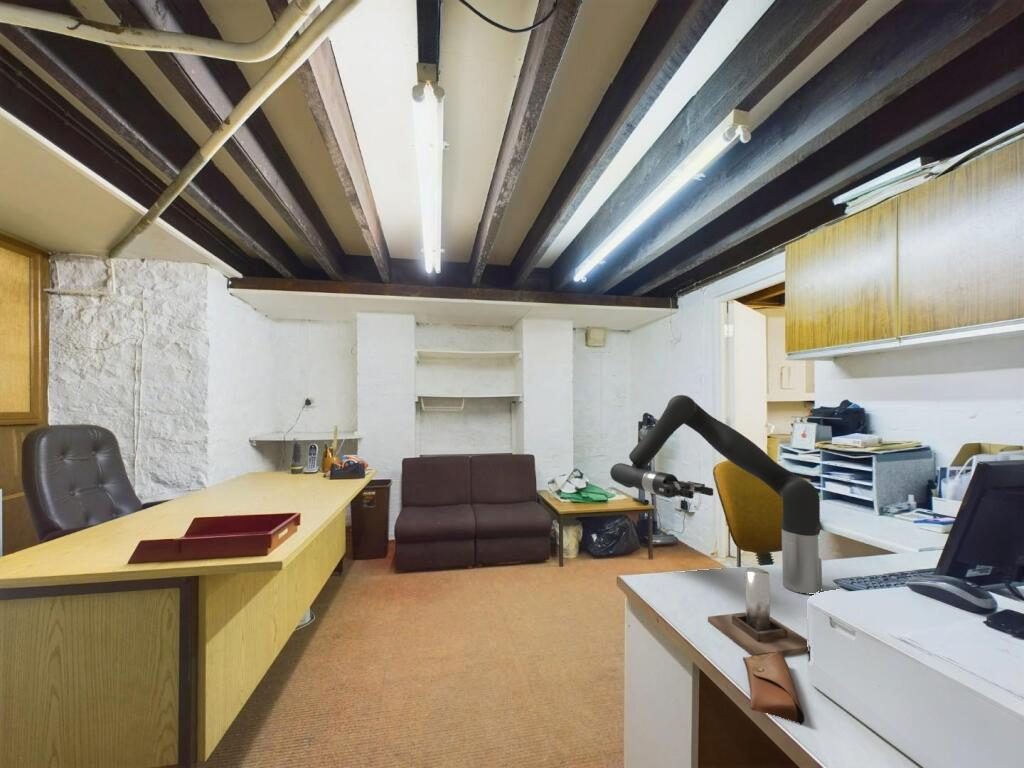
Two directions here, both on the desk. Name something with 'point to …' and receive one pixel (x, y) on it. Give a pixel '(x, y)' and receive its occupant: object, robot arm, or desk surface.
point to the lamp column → (757, 599)
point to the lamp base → (759, 635)
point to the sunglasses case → (773, 687)
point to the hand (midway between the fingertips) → (702, 493)
